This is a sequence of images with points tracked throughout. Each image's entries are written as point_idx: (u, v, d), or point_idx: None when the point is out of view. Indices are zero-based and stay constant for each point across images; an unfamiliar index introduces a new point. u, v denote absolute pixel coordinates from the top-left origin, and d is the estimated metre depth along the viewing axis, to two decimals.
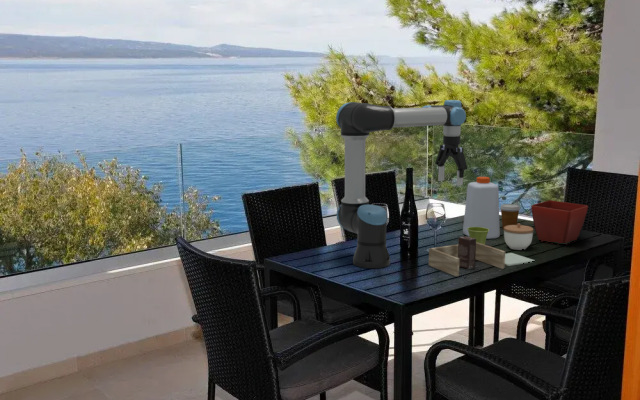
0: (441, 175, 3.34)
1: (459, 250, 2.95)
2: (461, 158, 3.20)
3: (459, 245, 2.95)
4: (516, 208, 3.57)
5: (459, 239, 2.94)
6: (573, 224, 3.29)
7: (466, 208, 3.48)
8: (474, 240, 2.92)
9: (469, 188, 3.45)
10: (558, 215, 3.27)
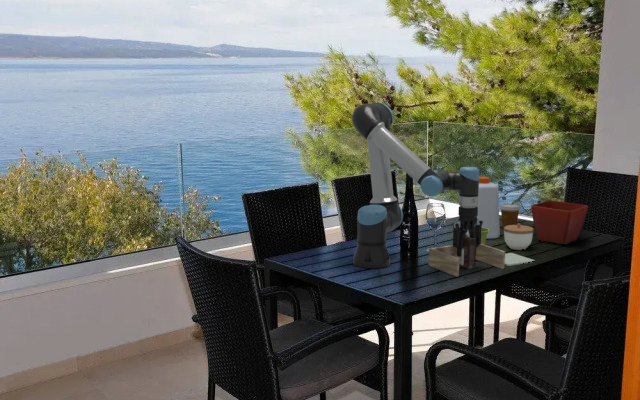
0: None
1: None
2: (454, 235, 2.91)
3: None
4: (516, 208, 3.57)
5: None
6: (573, 224, 3.29)
7: None
8: (474, 240, 2.92)
9: None
10: (558, 215, 3.27)
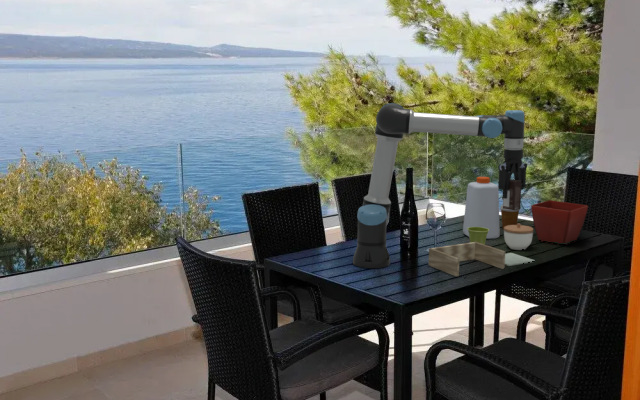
0: None
1: None
2: (499, 177, 2.97)
3: None
4: None
5: None
6: (573, 224, 3.29)
7: (466, 208, 3.48)
8: (519, 182, 2.98)
9: (469, 188, 3.45)
10: (558, 215, 3.27)
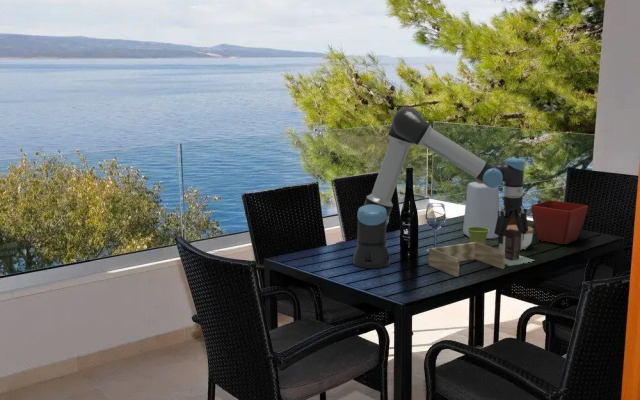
0: None
1: None
2: (497, 222, 3.01)
3: None
4: None
5: None
6: (573, 224, 3.29)
7: (466, 208, 3.48)
8: (519, 232, 3.03)
9: (469, 188, 3.45)
10: (558, 215, 3.27)
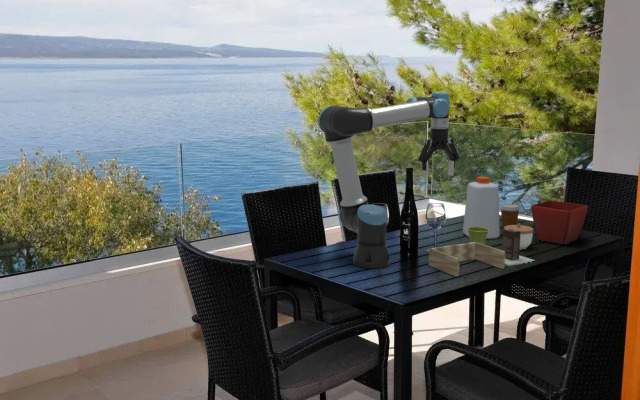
0: (450, 169, 3.25)
1: (504, 242, 3.06)
2: (422, 150, 3.17)
3: (504, 237, 3.05)
4: (516, 208, 3.57)
5: (504, 231, 3.05)
6: (573, 224, 3.29)
7: (466, 208, 3.48)
8: (518, 232, 3.02)
9: (469, 188, 3.45)
10: (558, 215, 3.27)
